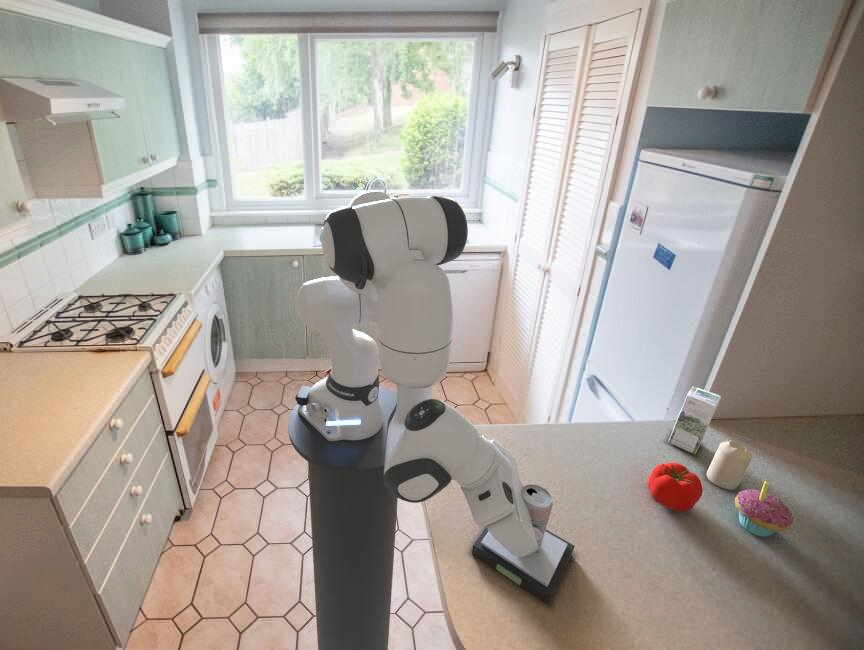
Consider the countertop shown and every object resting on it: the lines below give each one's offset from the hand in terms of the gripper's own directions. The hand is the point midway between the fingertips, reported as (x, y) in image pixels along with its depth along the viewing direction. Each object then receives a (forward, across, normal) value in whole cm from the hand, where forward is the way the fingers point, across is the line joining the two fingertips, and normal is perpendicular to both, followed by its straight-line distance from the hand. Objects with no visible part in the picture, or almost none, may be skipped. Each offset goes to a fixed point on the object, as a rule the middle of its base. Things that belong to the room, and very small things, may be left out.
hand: (534, 519), depth 79 cm
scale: (+6, 0, -7) cm, 9 cm away
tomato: (+29, -17, +16) cm, 37 cm away
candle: (+40, -24, +26) cm, 53 cm away
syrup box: (+38, -35, +25) cm, 57 cm away
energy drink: (+4, 0, -5) cm, 7 cm away
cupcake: (+39, -12, +26) cm, 49 cm away
